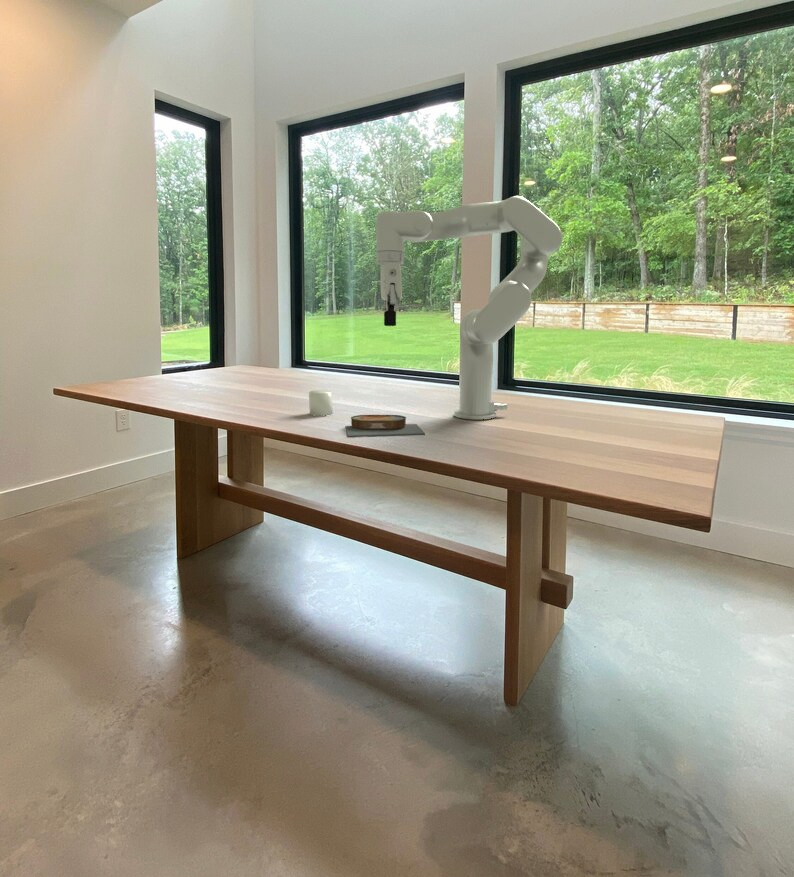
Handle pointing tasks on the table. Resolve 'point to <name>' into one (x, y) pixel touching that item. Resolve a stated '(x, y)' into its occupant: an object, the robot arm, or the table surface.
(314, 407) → the white rounded cube
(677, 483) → the table surface
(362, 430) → the mat
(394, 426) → the tin
